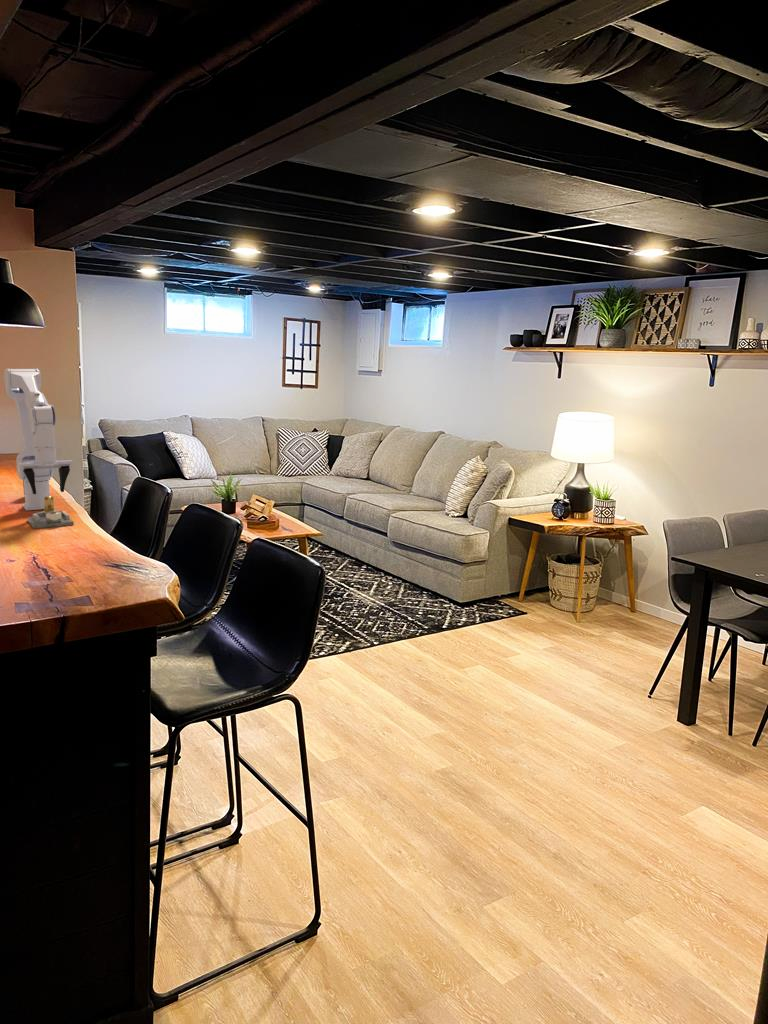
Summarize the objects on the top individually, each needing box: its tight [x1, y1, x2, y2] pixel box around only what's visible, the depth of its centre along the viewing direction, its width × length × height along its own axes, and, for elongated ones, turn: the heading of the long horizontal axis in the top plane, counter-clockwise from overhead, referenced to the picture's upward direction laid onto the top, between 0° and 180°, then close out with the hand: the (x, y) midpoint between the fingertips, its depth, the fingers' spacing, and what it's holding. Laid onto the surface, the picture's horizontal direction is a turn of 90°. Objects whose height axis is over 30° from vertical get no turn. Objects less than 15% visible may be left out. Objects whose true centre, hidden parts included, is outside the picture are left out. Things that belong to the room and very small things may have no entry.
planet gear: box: [41, 495, 58, 512], centre depth 228 cm, size 5×5×6 cm
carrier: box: [26, 509, 74, 530], centre depth 219 cm, size 12×10×4 cm
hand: (48, 492), depth 227 cm, fingers open, 7 cm apart
